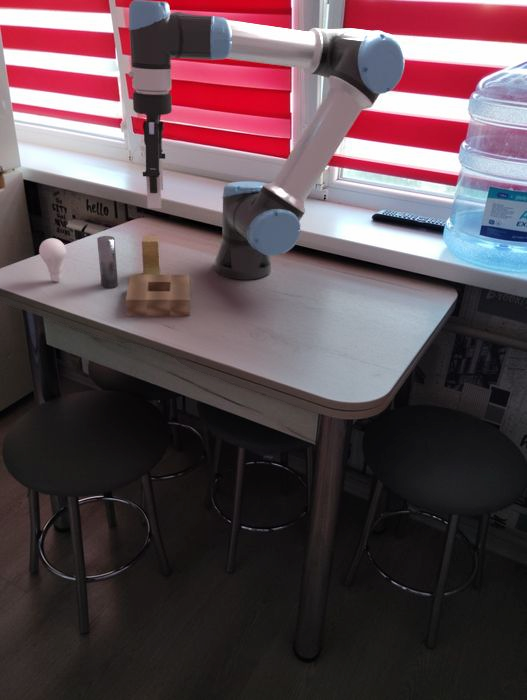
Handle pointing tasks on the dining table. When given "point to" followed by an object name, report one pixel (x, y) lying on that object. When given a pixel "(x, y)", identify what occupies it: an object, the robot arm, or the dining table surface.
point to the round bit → (107, 261)
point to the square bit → (151, 255)
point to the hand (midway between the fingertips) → (155, 198)
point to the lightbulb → (53, 257)
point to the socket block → (158, 295)
